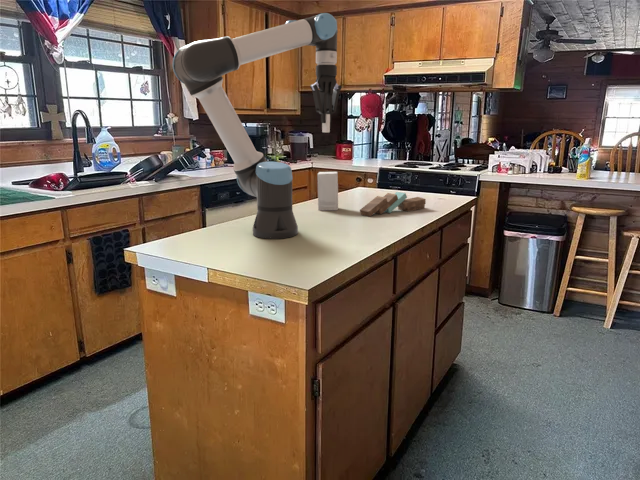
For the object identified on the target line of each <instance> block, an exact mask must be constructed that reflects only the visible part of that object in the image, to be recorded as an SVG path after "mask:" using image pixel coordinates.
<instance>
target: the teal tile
mask: <svg viewBox="0 0 640 480" xmlns="http://www.w3.org/2000/svg"><path fill="white" fill-rule="evenodd" d="M394 194H397V197H398V199H397V200H396V201H395V202H394V203H393V204H392V205H391V206H390V207H389V208H388V209H387V210H385V211H384V212H383V213H389V214H391V213H392V212H393V211H394V210H395V209H396V208H398V207H397V206H398V205H399V204H400V203H402V202H403V201H404V200H405V199H408V196H407V193H406V192H402V191H396V192H395V193H394Z"/></svg>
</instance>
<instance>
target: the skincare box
mask: <svg viewBox="0 0 640 480" xmlns="http://www.w3.org/2000/svg"><path fill="white" fill-rule="evenodd" d="M316 175H317V205H318V210H317V211H338V209H339V181H338V180H339V179H338V178H339V177H338V171H318V173H317V174H316Z"/></svg>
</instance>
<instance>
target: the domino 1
mask: <svg viewBox="0 0 640 480" xmlns="http://www.w3.org/2000/svg"><path fill="white" fill-rule="evenodd" d="M387 202H388V201H387V198H386V197H384V196H379V195H377V196H376V197H374V198H373V199H371V200H370V201H369V202H368V203H366V205H364V206H362V207H361V209H359V213H360V215H361V216H365V217H366V216H367V217H372V216H373V215H374V214H376V213H375V212H376V211H378V210H379V209H380V208H381V207H382V206H384V205H385V204H386V203H387Z"/></svg>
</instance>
